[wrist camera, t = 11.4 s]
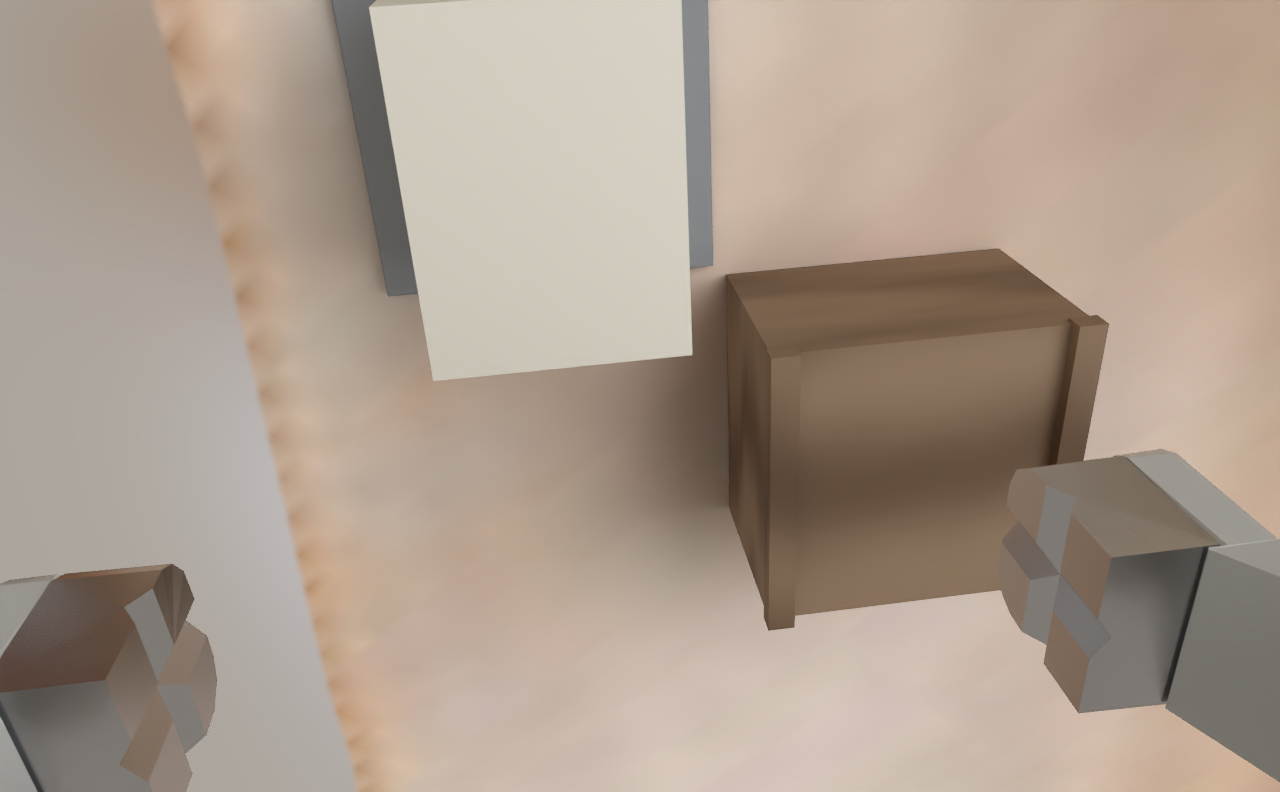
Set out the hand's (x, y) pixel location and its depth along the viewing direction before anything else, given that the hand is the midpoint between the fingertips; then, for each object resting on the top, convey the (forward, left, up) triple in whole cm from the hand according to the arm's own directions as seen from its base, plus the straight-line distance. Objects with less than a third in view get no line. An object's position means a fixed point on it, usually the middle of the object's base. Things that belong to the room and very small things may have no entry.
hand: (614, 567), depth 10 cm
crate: (-10, -10, -21) cm, 25 cm away
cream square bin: (0, 0, -21) cm, 21 cm away
